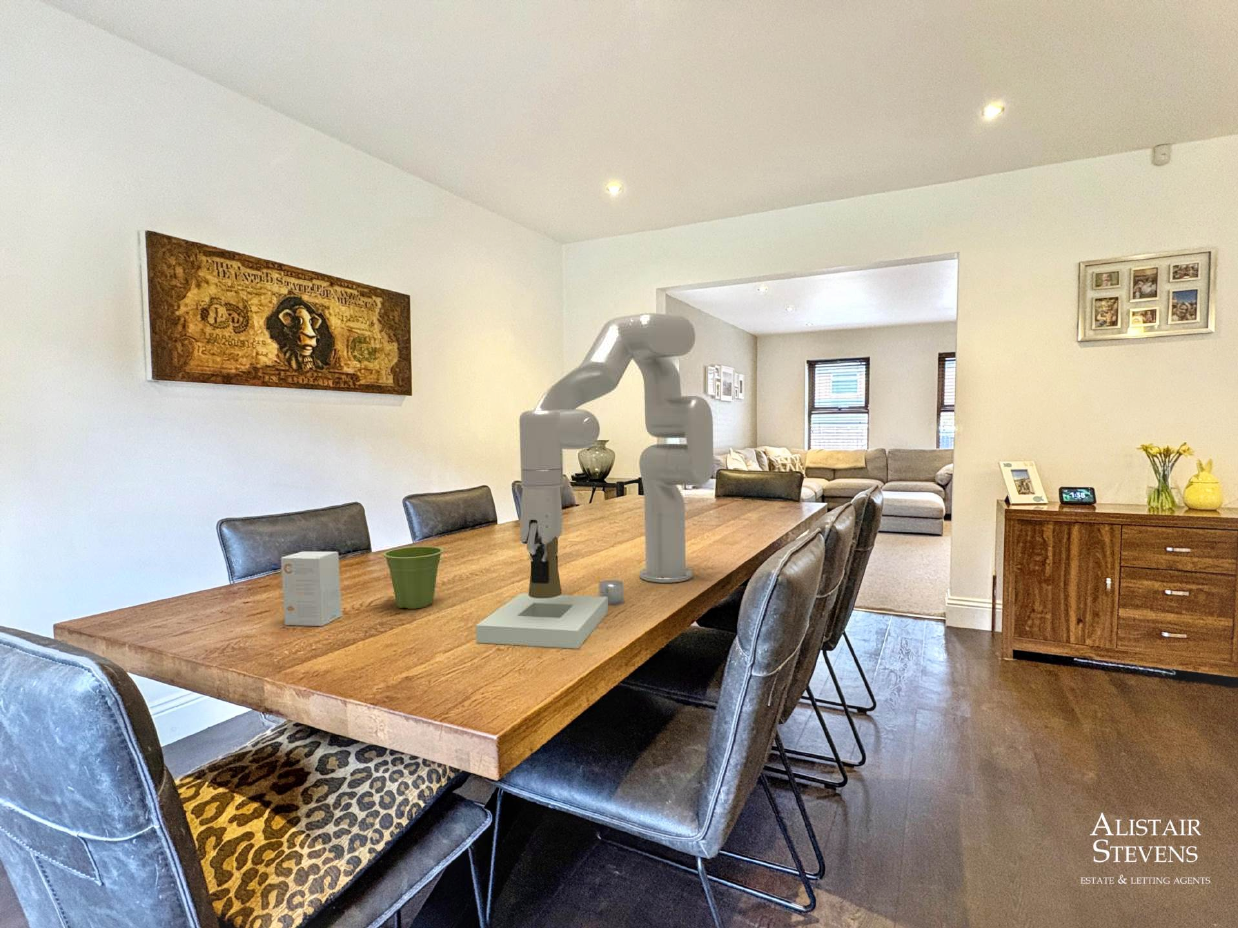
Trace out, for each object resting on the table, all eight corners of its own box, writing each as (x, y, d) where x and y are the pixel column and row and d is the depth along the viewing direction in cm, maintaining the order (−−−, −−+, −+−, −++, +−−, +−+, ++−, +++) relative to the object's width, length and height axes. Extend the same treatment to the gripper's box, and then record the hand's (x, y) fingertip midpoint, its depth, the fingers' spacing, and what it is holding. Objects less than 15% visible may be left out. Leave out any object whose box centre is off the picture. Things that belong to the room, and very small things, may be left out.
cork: (564, 589, 114) (563, 530, 114) (558, 598, 108) (556, 536, 108) (532, 589, 115) (531, 531, 114) (524, 598, 109) (522, 536, 108)
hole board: (521, 607, 124) (520, 593, 123) (607, 611, 120) (607, 596, 119) (476, 642, 104) (475, 625, 104) (578, 648, 100) (577, 630, 100)
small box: (342, 616, 121) (339, 551, 120) (322, 626, 115) (318, 558, 114) (306, 615, 122) (302, 550, 121) (283, 625, 116) (279, 557, 115)
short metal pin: (602, 598, 130) (602, 579, 129) (625, 599, 128) (625, 580, 128) (596, 605, 125) (596, 585, 125) (620, 606, 124) (620, 586, 123)
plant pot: (407, 616, 120) (405, 559, 119) (374, 607, 127) (371, 553, 126) (457, 602, 129) (455, 549, 128) (423, 593, 136) (421, 543, 136)
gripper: (538, 475, 119) (541, 568, 120) (503, 483, 103) (507, 590, 104) (575, 475, 118) (578, 569, 119) (546, 483, 101) (549, 592, 102)
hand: (545, 578), depth 111 cm, fingers closed on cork, 4 cm apart
